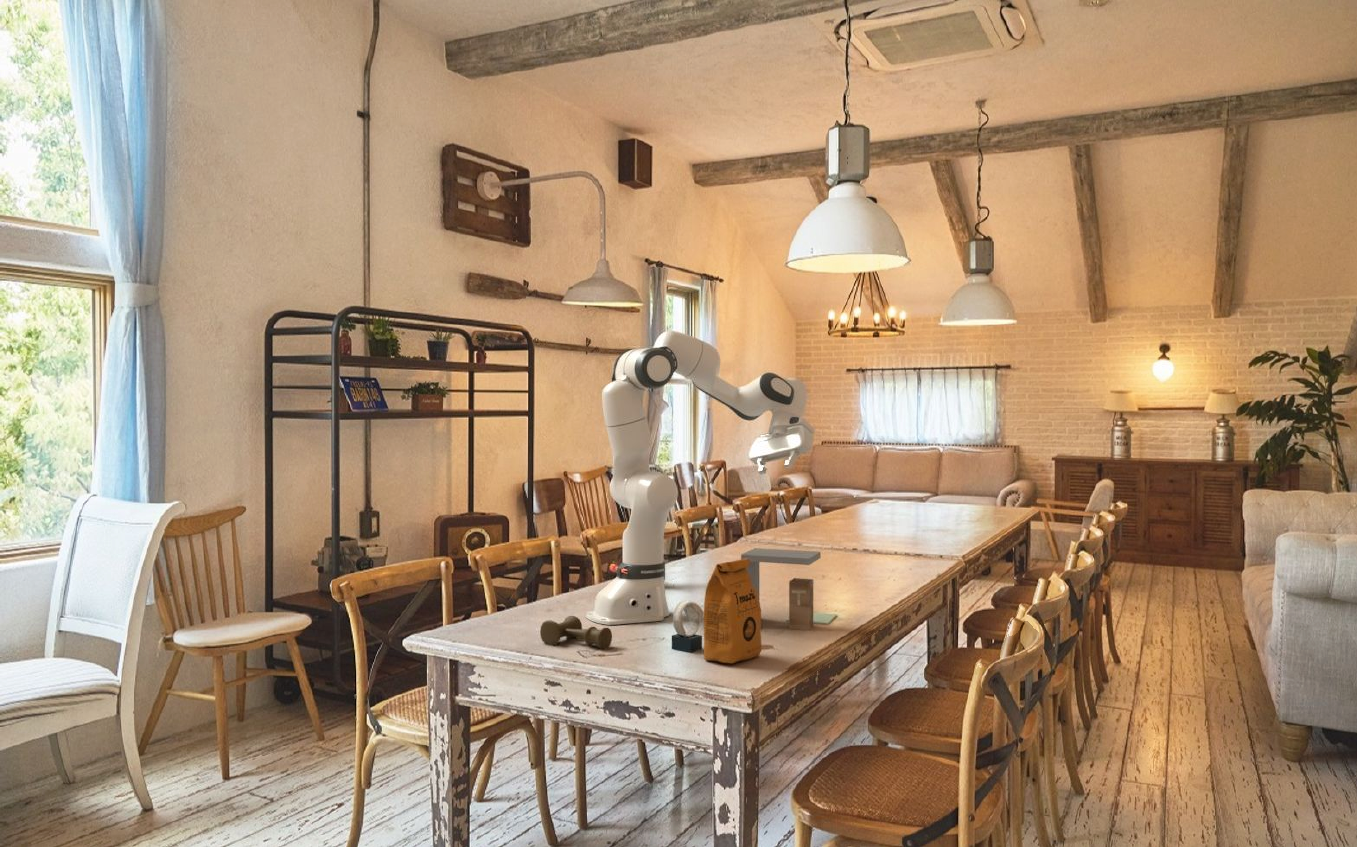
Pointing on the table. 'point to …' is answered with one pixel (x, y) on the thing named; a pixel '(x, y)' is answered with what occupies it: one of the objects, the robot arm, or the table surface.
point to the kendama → (574, 632)
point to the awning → (775, 560)
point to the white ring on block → (689, 639)
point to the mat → (822, 618)
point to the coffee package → (731, 615)
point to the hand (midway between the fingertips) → (774, 470)
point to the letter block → (801, 604)
